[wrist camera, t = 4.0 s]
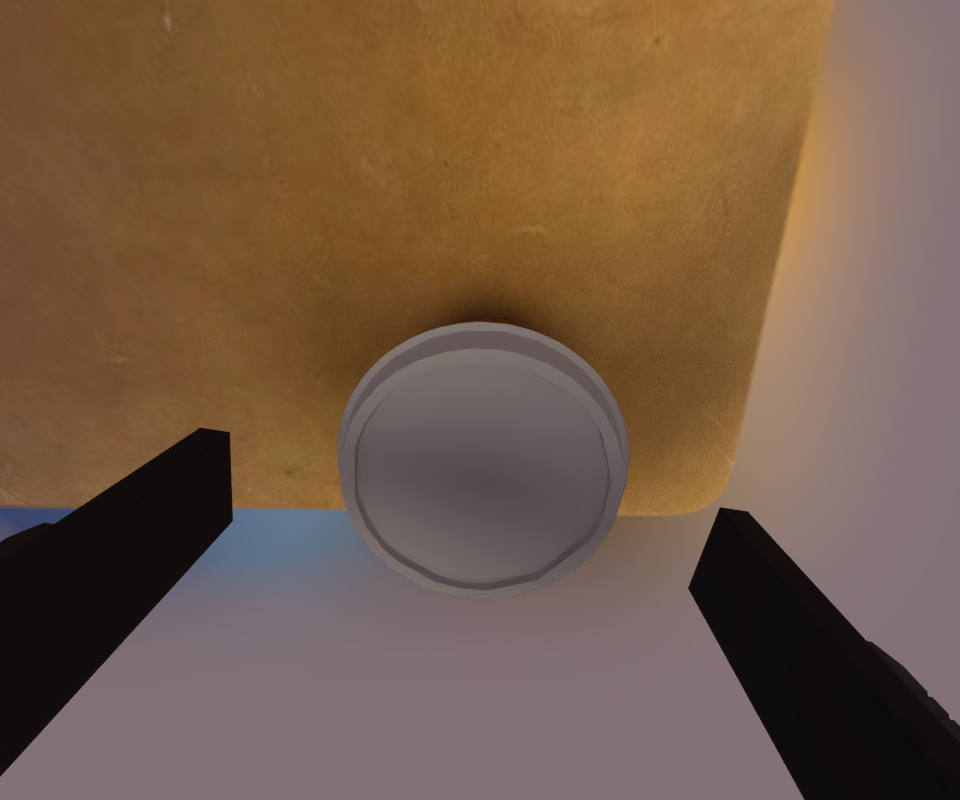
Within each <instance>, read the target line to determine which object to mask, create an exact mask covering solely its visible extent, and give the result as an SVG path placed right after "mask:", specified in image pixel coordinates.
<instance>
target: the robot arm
mask: <svg viewBox="0 0 960 800" xmlns="http://www.w3.org/2000/svg"><path fill="white" fill-rule="evenodd" d="M232 521H233V514H232V485H231V456H230V432H224V431H218V430H211V429H205V428H199V429H198V430H196V431H195V432H193V433H192V434H190V435H189V436H187V437H185V438H184V439H182V440H181V441H179V442H178V443H176V444H175V445H173V446H172V447H170V448H169V449H167V450H166V451H164V452H163V453H161V454H160V455H158V456H157V457H155V458H154V459H152V460H151V461H149V462H148V463H146V464H145V465H143V466H142V467H140V468H139V469H137V470H135V471H134V472H132V473H131V474H129V475H128V476H126V477H125V478H123V479H122V480H120V481H119V482H117V483H116V484H114V485H113V486H111V487H110V488H108V489H107V490H105V491H104V492H102V493H101V494H99V495H98V496H96V497H95V498H93V499H92V500H90V501H89V502H87V503H85V504H84V505H82V506H81V507H79V508H78V509H76V510H75V511H73V512H72V513H70V514H69V515H67V516H66V517H64V518H63V519H61V520H60V521H58V522H57V523H55V524H50V523H42V524H40V525H38V526H35V527H33V528H30V529H28V530H25V531H23V532H20V533H18V534H15V535H13V536H10V537H8V538H6V539H4V540H3V541H1V542H0V776H1V775H2V774H3V773H4V772H5V771H6V770H7V769H8V768H9V766H10V765H11V764H12V763H13V762H14V761H15V760H16V759H17V758H18V756H19V755H20V754H21V753H22V752H23V751H24V750H25V749H26V748H27V747H28V746H29V744H30V743H31V742H32V741H33V740H34V739H35V738H36V737H37V736H38V735H39V733H40V732H41V731H42V730H43V729H44V728H45V727H46V726H47V725H48V723H49V722H50V721H51V720H52V719H53V718H54V717H55V716H56V715H57V714H58V713H59V711H60V710H61V709H62V708H63V707H64V706H65V705H66V704H67V703H68V702H69V700H70V699H71V698H72V697H73V696H74V695H75V694H76V693H77V692H78V690H79V689H80V688H81V687H82V686H83V685H84V684H85V683H86V681H88V680H89V678H90V677H91V676H92V675H93V674H94V673H95V672H96V671H97V669H98V668H99V667H100V666H101V665H102V664H103V663H104V662H105V661H106V660H107V659H108V657H109V656H110V655H111V654H112V653H113V652H114V651H115V650H116V649H117V648H118V646H119V645H120V644H121V643H122V642H123V641H124V640H125V639H126V638H127V637H128V635H129V634H130V633H131V632H132V631H133V630H134V629H135V628H136V627H137V625H139V623H140V622H141V621H142V620H143V619H144V618H145V617H146V616H147V615H148V614H149V612H150V611H151V610H152V609H153V608H154V607H155V606H156V605H157V604H158V603H159V601H160V600H161V599H162V598H163V597H164V596H165V595H166V594H167V593H168V592H169V590H170V589H171V588H172V587H173V586H174V585H175V584H176V583H177V582H178V581H179V579H180V578H181V577H182V576H183V575H184V574H185V573H186V572H187V571H188V570H189V568H190V567H191V566H192V565H193V564H194V563H195V562H196V561H197V560H198V559H199V557H200V556H201V555H202V554H203V553H204V552H205V551H206V550H207V549H208V548H209V547H210V545H211V544H212V543H213V542H214V541H215V540H216V539H217V538H218V537H219V535H220V534H221V533H222V532H223V531H224V530H225V529H226V528H227V527H228V525H229V524H230V523H231V522H232ZM688 589H689V590H690V592H691V594H692V596H693V598H694V600H695V602H696V603H697V605H698V607H699V609H700V611H701V612H702V614H703V616H704V618H705V620H706V621H707V623H708V625H709V627H710V629H711V631H712V632H713V634H714V636H715V638H716V640H717V642H718V643H719V645H720V647H721V649H722V651H723V652H724V654H725V656H726V657H727V660H728V662H729V663H730V665H731V667H732V669H733V671H734V672H735V674H736V676H737V678H738V679H739V681H740V683H741V685H742V687H743V689H744V691H745V692H746V694H747V696H748V698H749V700H750V702H751V703H752V705H753V707H754V709H755V711H756V712H757V714H758V716H759V718H760V720H761V722H762V723H763V725H764V727H765V729H766V731H767V732H768V734H769V736H770V738H771V740H772V742H773V743H774V745H775V747H776V749H777V750H778V752H779V754H780V756H781V758H782V760H783V762H784V763H785V765H786V767H787V769H788V771H789V772H790V774H791V776H792V778H793V780H794V781H795V783H796V785H797V787H798V789H799V791H800V792H801V794H802V796H803V798H804V800H960V726H959V725H958V724H957V723H956V722H955V721H954V720H950V718H949V714H948V713H947V712H946V711H945V710H944V709H943V708H942V707H941V706H940V705H939V704H938V703H937V701H936V700H934V698H932V697H929V696H928V695H927V691H926V690H925V689H924V688H923V687H922V686H921V685H920V684H919V682H918V681H917V680H916V679H915V678H914V677H913V676H912V675H911V674H910V673H909V672H908V671H907V670H906V669H905V668H904V667H903V666H902V665H901V664H900V663H898V662H897V661H896V660H894V659H893V658H892V657H890V656H889V655H888V654H887V653H885V652H884V651H883V650H882V649H880V648H879V647H878V646H876V645H875V644H874V643H872V642H869V641H866V640H865V639H864V638H863V637H862V636H861V635H860V633H859V632H858V631H857V630H856V629H855V628H854V627H853V626H852V625H851V624H850V623H849V621H848V620H847V619H846V618H845V617H844V616H843V615H842V614H841V613H840V612H839V611H838V609H837V608H836V607H835V606H834V605H833V604H832V603H831V602H830V601H829V600H828V599H827V597H826V596H825V595H824V594H823V593H822V592H821V591H820V590H819V589H818V588H817V587H816V586H815V585H814V583H813V582H812V581H811V580H810V579H809V578H808V577H807V576H806V575H805V574H804V572H803V571H802V570H801V569H800V568H799V567H798V566H797V565H796V564H795V563H794V561H793V560H792V559H791V558H790V557H789V556H788V555H787V554H786V553H785V552H784V551H783V550H782V548H780V546H779V545H778V544H777V543H776V542H775V541H774V540H773V539H772V537H771V536H769V534H768V533H767V532H766V531H765V530H764V529H763V528H762V527H761V525H760V524H759V523H758V522H757V521H756V520H755V519H754V518H753V517H752V516H751V515H750V514H749V512H746V511H741V510H734V509H727V508H721V507H720V509H719V511H718V514H717V516H716V519H715V522H714V524H713V527H712V529H711V532H710V534H709V537H708V539H707V542H706V544H705V547H704V549H703V552H702V554H701V557H700V560H699V562H698V565H697V567H696V570H695V572H694V575H693V577H692V580H691V582H690V585H689V587H688Z"/></svg>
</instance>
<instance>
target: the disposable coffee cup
mask: <svg viewBox="0 0 960 800" xmlns="http://www.w3.org/2000/svg"><path fill="white" fill-rule="evenodd" d="M337 448H338V468H339V472H340V481H341V489H342V495H343V498H344V502H345V505H346V508H347V511H348V514H349V517H350V519H351V521H352V522H353V524H354V526H355V527H356V529H357V531H358V532H359V534H360V536H361V537H362V539H363V541H364V543H365V544H366V545H367V546H368V547H369V548H371V550H372V551H373V552H374V553H375V554H376V555H377V556H378V557H379V558H380V559H381V560H382V561H383V562H384V563H385V564H386V565H387V566H388V567H389V568H391V569H393V570H395V571H396V572H398V573H400V574H401V575H403V576H405V577H406V578H408V579H410V580H412V581H413V582H415V583H417V584H418V585H420V586H422V587H426V588H429V589H432V590H435V591H439V592H442V593H445V594H449V595H452V596H455V597H465V598H480V599H494V598H504V597H513V596H516V595H520V594H523V593H526V592H529V591H533V590H536V589H539V588H542V587H545V586H548V585H550V584H553V583H554V582H556V581H558V580H559V579H561V578H563V577H564V576H566V575H568V574H569V573H571V572H573V571H574V570H575V569H577V568H578V567H579V566H580V565H581V564H582V563H583V562H584V561H586V560H587V559H588V558H589V557H590V556H591V555H592V554H593V553H594V552H595V551H596V549H597V548H598V546H599V545H600V544H601V543H602V541H603V540H604V539H605V538H606V536H607V534H608V532H609V530H610V528H611V526H612V524H613V523H614V521H615V518H616V514H617V511H618V508H619V505H620V502H621V499H622V495H623V491H624V488H625V486H626V481H627V473H628V466H629V447H628V433H627V430H626V427H625V424H624V421H623V418H622V415H621V412H620V409H619V406H618V403H617V401H616V400H615V398H614V397H613V395H612V393H611V392H610V390H609V388H608V387H607V385H606V384H605V382H604V380H603V379H602V378H601V377H600V376H599V374H598V373H597V372H596V371H595V370H594V369H593V368H592V367H591V366H590V365H589V364H588V363H587V362H586V361H585V360H584V359H582V358H581V357H580V356H578V355H577V354H576V353H575V352H573V351H572V350H571V349H569V348H568V347H567V346H565V345H564V344H562V343H560V342H558V341H556V340H554V339H552V338H550V337H547V336H545V335H543V334H541V333H539V332H536V331H533V330H530V329H526V328H523V327H521V326H520V325H518V324H516V323H514V322H512V321H510V320H507V319H503V318H499V317H479V318H473V319H470V320H467V321H464V322H462V323H460V324H453V325H447V326H441V327H438V328H435V329H432V330H429V331H427V332H424V333H422V334H419V335H416V336H414V337H412V338H410V339H409V340H407V341H405V342H403V343H401V344H400V345H398V346H396V347H395V348H393V349H392V350H391V351H389V352H388V353H387V354H385V355H384V356H383V357H381V358H380V359H379V360H378V361H377V363H376V364H375V365H374V366H373V367H372V368H371V369H370V370H369V371H368V372H367V373H366V374H365V375H364V376H363V378H362V379H361V381H360V382H359V384H358V385H357V387H356V388H355V390H354V391H353V393H352V394H351V396H350V399H349V401H348V404H347V407H346V409H345V412H344V414H343V417H342V420H341V423H340V429H339V436H338V442H337Z"/></svg>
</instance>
